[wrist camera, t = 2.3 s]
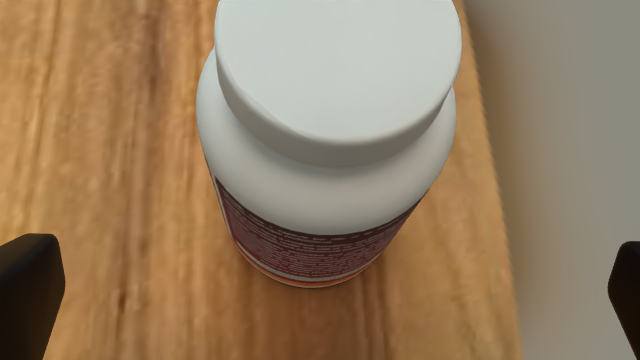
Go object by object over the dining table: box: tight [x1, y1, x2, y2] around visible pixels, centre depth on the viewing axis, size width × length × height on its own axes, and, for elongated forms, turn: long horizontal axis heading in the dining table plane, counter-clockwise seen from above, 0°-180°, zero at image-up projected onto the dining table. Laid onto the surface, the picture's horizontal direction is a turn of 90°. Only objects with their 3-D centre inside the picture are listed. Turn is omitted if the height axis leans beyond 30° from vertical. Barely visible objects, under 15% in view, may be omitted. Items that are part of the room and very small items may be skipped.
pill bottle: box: [196, 0, 462, 288], centre depth 16 cm, size 6×6×11 cm
